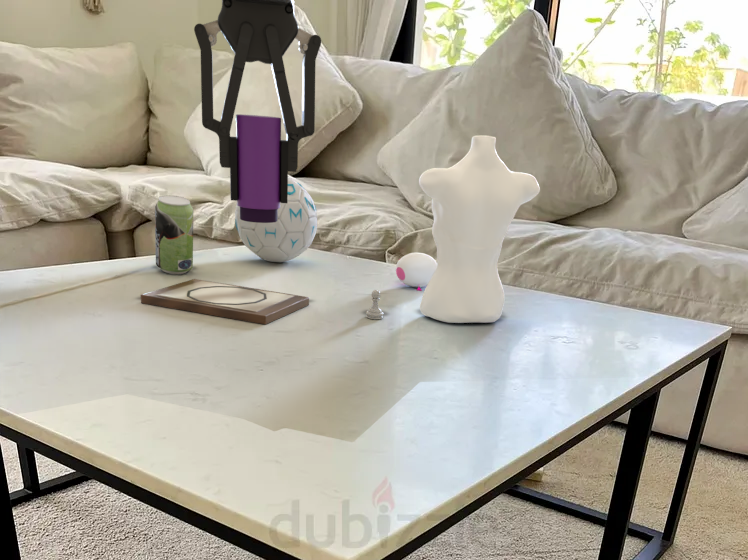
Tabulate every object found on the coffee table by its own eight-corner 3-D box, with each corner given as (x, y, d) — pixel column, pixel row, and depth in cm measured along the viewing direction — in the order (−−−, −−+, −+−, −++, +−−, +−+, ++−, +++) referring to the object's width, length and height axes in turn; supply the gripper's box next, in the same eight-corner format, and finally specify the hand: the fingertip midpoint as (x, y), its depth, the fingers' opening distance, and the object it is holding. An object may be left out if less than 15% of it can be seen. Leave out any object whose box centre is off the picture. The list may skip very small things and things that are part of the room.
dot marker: (229, 219, 91) (227, 114, 86) (250, 215, 95) (249, 114, 90) (268, 224, 89) (268, 117, 84) (287, 220, 94) (288, 118, 89)
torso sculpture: (500, 309, 125) (525, 136, 113) (529, 325, 117) (558, 141, 105) (394, 309, 119) (408, 128, 108) (416, 326, 111) (433, 132, 100)
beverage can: (181, 267, 136) (178, 193, 130) (203, 275, 131) (201, 199, 126) (148, 269, 132) (143, 193, 126) (170, 278, 127) (166, 200, 122)
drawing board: (140, 303, 112) (140, 293, 111) (194, 286, 124) (194, 277, 123) (265, 324, 106) (265, 314, 106) (309, 305, 118) (309, 295, 118)
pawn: (372, 320, 113) (374, 292, 111) (362, 316, 114) (363, 288, 113) (386, 318, 114) (388, 291, 112) (376, 314, 116) (378, 287, 114)
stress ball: (430, 303, 139) (428, 267, 140) (445, 285, 132) (443, 248, 132) (389, 301, 137) (387, 264, 138) (402, 283, 130) (400, 244, 130)
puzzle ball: (332, 263, 149) (335, 178, 142) (276, 272, 138) (276, 180, 131) (275, 250, 157) (276, 169, 150) (218, 257, 146) (215, 170, 139)
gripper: (165, -57, 75) (177, 200, 86) (349, -36, 79) (339, 208, 90) (169, -46, 82) (180, 192, 93) (339, -27, 85) (331, 200, 96)
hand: (258, 200), depth 91 cm, fingers closed on dot marker, 5 cm apart
